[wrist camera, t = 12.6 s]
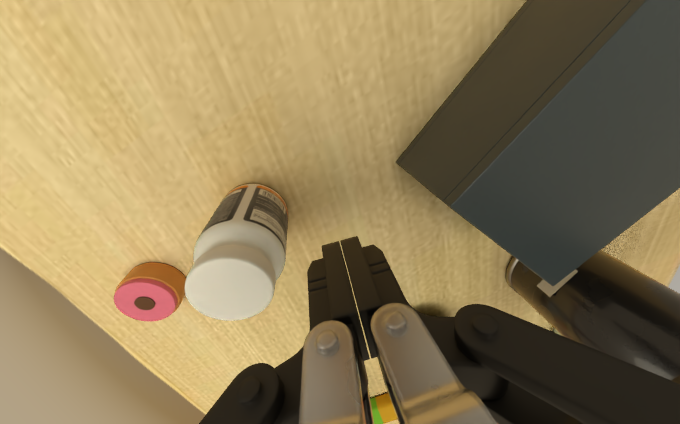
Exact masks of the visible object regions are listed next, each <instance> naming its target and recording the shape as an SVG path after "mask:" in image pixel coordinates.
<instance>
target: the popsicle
mask: <svg viewBox="0 0 680 424" xmlns="http://www.w3.org/2000/svg"><path fill="white" fill-rule="evenodd" d="M370 401H371V407H372V414H373V420H374V424H383V423H387V422H390V421H393V420H396V419H397V416H396V413H395V410H394V407H393V405H392V402H391V399H390V396H389V394H388V393H386V394H383V395H380V396H377V397H374V398H370Z"/></svg>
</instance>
